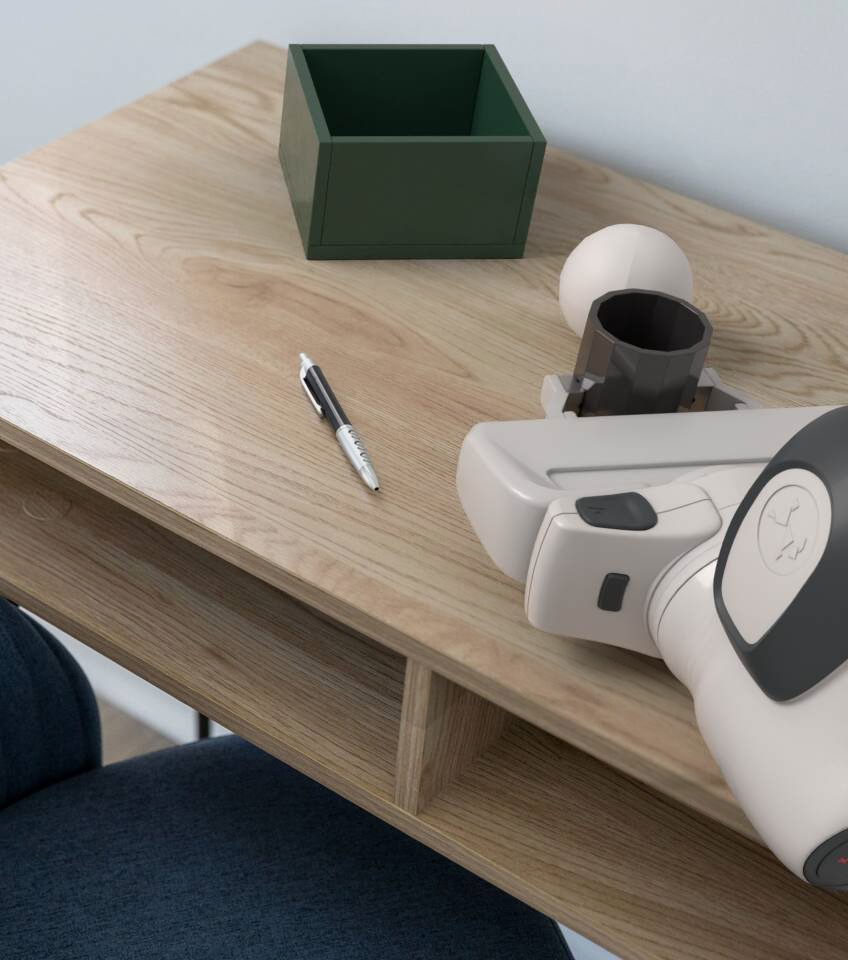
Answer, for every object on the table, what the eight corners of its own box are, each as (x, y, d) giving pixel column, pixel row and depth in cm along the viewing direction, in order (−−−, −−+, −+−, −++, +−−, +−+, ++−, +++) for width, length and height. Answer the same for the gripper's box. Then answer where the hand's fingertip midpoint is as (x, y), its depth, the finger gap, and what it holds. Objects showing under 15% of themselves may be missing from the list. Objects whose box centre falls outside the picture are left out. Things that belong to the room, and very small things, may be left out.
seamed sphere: (577, 386, 90) (605, 274, 85) (528, 313, 96) (551, 204, 91) (743, 371, 92) (779, 259, 87) (685, 300, 97) (716, 191, 93)
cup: (645, 437, 87) (689, 287, 81) (680, 509, 82) (730, 355, 76) (538, 439, 86) (575, 288, 80) (568, 511, 82) (609, 356, 76)
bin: (474, 153, 111) (494, 43, 106) (523, 258, 101) (547, 141, 95) (277, 154, 110) (288, 43, 105) (306, 259, 100) (319, 142, 95)
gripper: (981, 500, 70) (838, 321, 81) (523, 525, 68) (438, 338, 79) (931, 605, 74) (802, 422, 85) (497, 632, 72) (420, 440, 83)
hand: (623, 382), depth 82 cm, fingers closed on cup, 6 cm apart
